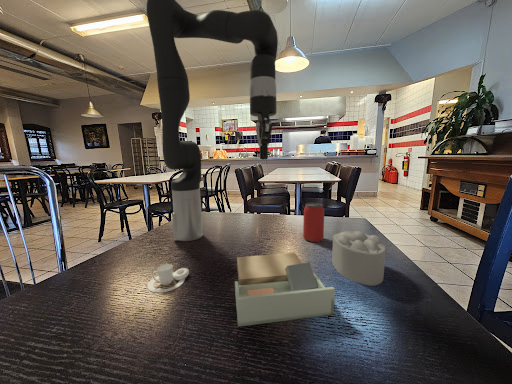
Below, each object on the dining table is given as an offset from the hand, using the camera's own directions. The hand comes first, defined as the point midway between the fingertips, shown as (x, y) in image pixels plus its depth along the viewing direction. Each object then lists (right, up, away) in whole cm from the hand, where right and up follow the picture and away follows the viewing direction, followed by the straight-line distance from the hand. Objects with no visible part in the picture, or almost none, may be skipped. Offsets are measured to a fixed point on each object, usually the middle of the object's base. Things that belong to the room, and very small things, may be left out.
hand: (263, 159), depth 64 cm
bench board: (+1, -30, -13) cm, 33 cm away
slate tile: (+7, -28, -19) cm, 34 cm away
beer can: (+17, -26, +9) cm, 32 cm away
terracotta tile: (-1, -29, -25) cm, 38 cm away
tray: (+2, -31, -23) cm, 39 cm away
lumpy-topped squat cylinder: (+23, -29, -11) cm, 39 cm away
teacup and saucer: (-20, -31, -16) cm, 40 cm away
